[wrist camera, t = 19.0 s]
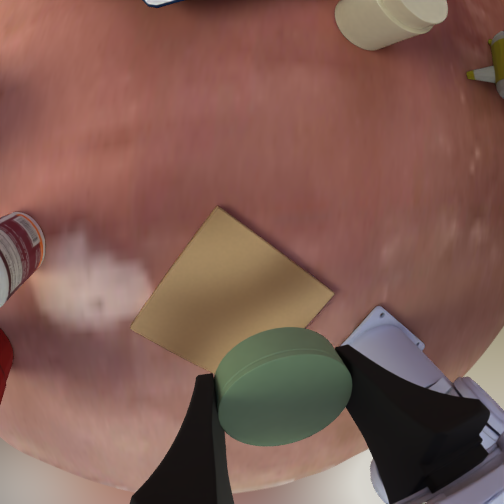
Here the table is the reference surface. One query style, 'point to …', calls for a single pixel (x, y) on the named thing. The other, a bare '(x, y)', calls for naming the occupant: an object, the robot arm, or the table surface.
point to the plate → (160, 2)
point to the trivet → (227, 293)
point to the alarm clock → (500, 72)
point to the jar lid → (280, 387)
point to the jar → (387, 20)
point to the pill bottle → (18, 251)
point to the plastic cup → (4, 361)
